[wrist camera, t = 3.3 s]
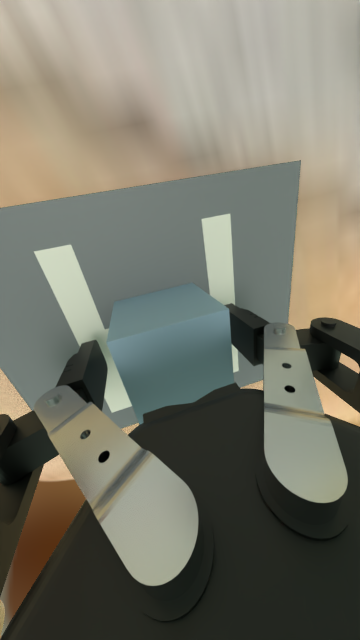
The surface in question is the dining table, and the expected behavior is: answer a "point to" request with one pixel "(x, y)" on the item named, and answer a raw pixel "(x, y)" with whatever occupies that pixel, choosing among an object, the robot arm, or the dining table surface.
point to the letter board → (139, 266)
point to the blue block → (170, 347)
